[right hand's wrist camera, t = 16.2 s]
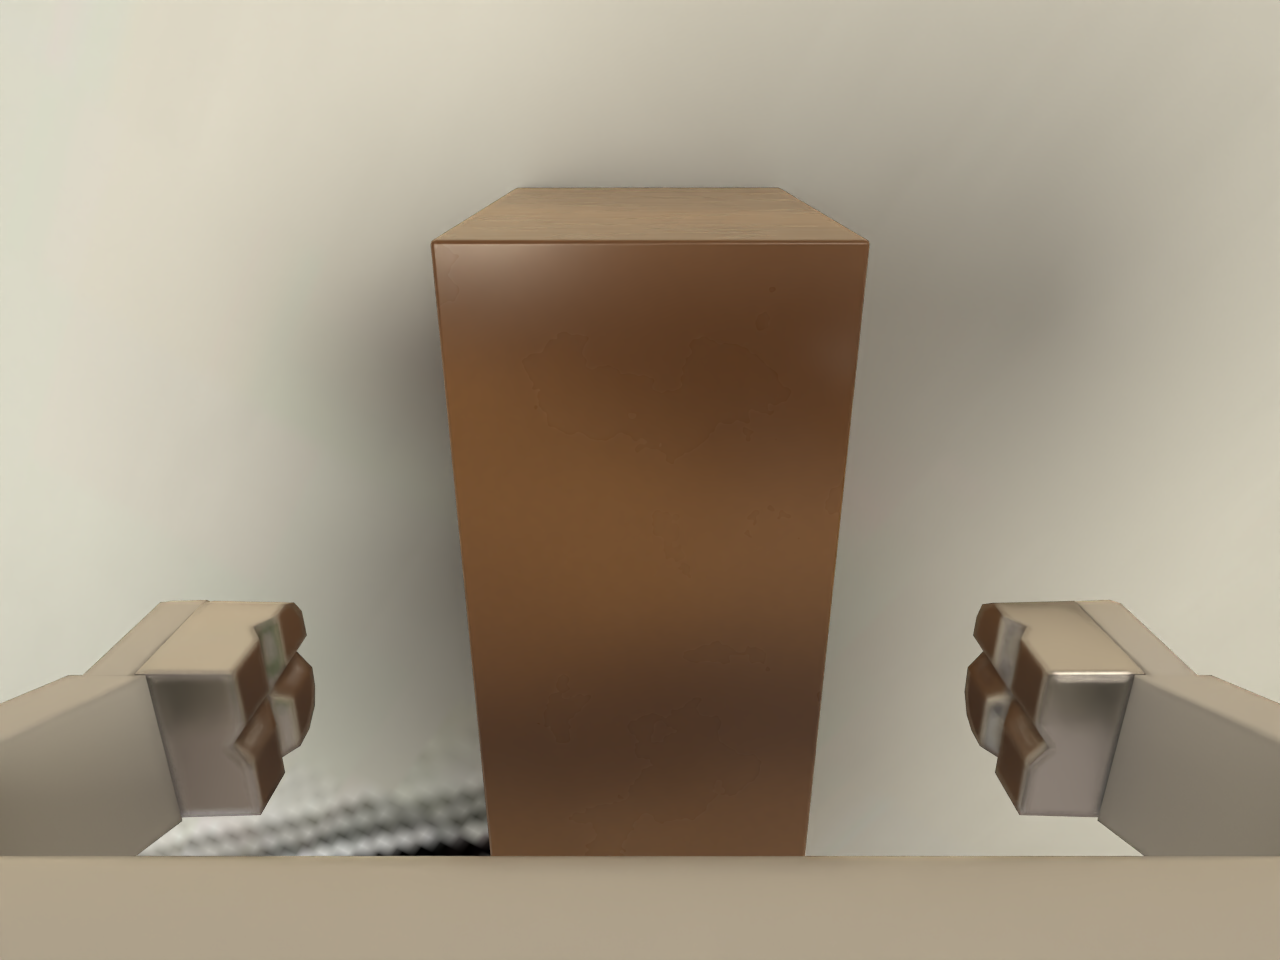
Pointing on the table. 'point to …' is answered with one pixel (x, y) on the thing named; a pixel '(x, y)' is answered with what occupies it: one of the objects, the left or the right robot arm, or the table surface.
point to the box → (649, 508)
